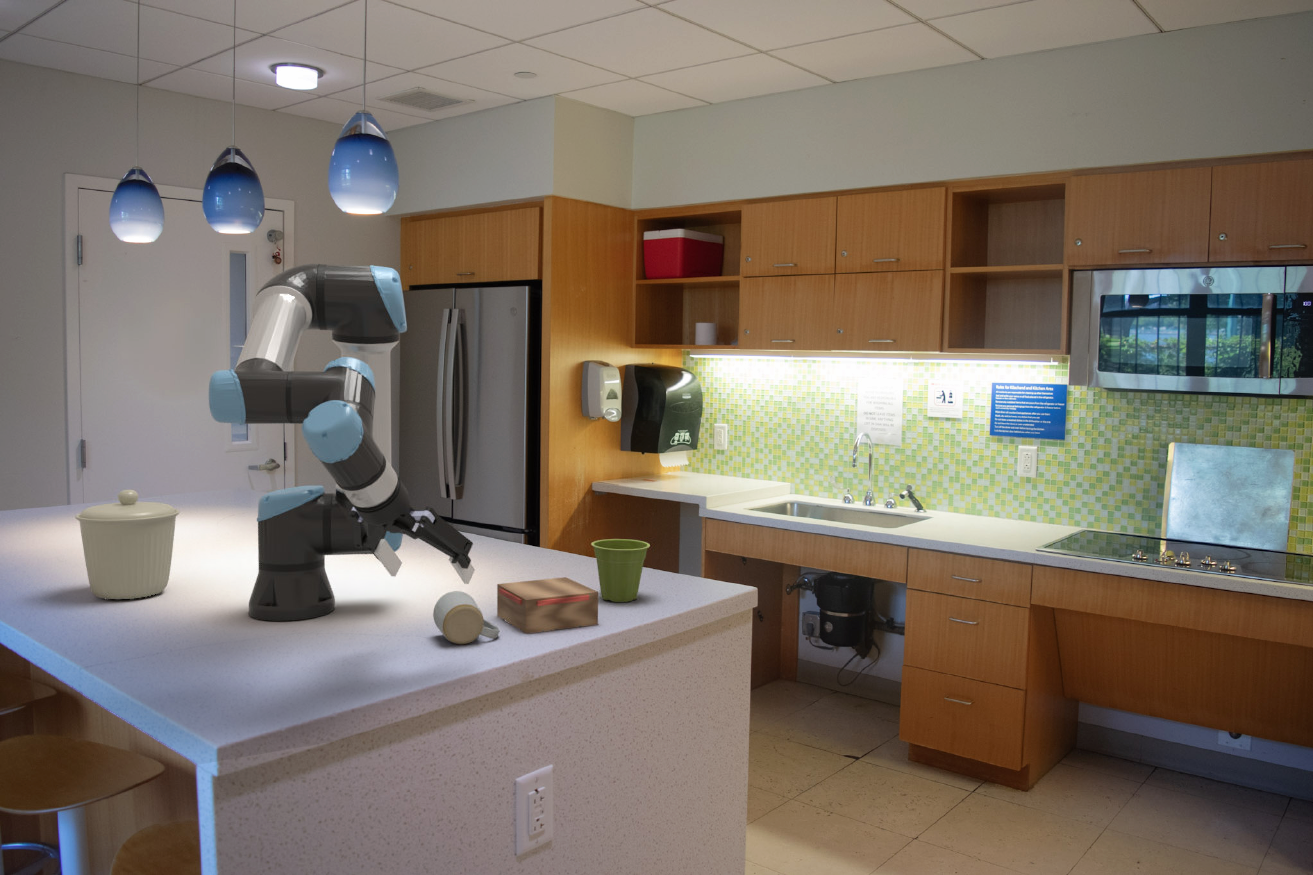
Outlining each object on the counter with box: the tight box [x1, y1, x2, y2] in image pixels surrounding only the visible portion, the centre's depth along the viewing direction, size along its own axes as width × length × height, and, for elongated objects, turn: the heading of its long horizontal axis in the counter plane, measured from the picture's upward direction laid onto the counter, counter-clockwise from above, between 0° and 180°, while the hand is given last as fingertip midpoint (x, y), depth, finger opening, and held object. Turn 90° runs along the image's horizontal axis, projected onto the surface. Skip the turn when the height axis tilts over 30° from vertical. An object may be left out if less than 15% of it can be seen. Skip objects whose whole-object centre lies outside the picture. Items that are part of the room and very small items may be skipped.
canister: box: [75, 489, 180, 600], centre depth 192 cm, size 18×18×21 cm
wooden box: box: [496, 576, 599, 635], centre depth 178 cm, size 14×14×6 cm
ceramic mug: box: [432, 590, 501, 645], centre depth 165 cm, size 11×8×8 cm
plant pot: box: [590, 538, 651, 603], centre depth 196 cm, size 12×12×11 cm
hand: (432, 573), depth 155 cm, fingers open, 13 cm apart
